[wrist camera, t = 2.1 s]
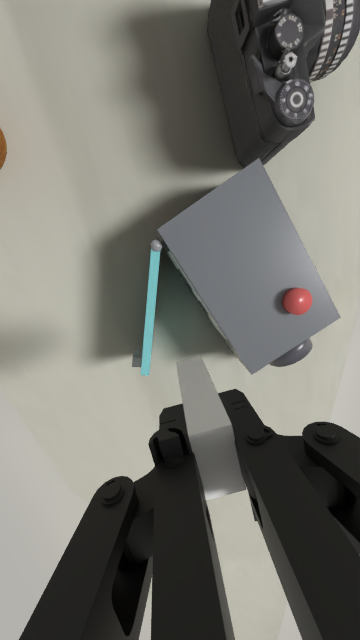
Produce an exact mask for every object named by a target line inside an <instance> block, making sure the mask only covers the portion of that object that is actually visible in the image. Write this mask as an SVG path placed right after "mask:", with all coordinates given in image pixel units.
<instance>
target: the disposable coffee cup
mask: <svg viewBox="0 0 360 640" xmlns="http://www.w3.org/2000/svg"><path fill="white" fill-rule="evenodd" d="M5 158H6V141H5V138H4V135H3V132H2V130H1V129H0V169H1V167H2V166H3V164H4V161H5Z"/></svg>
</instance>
